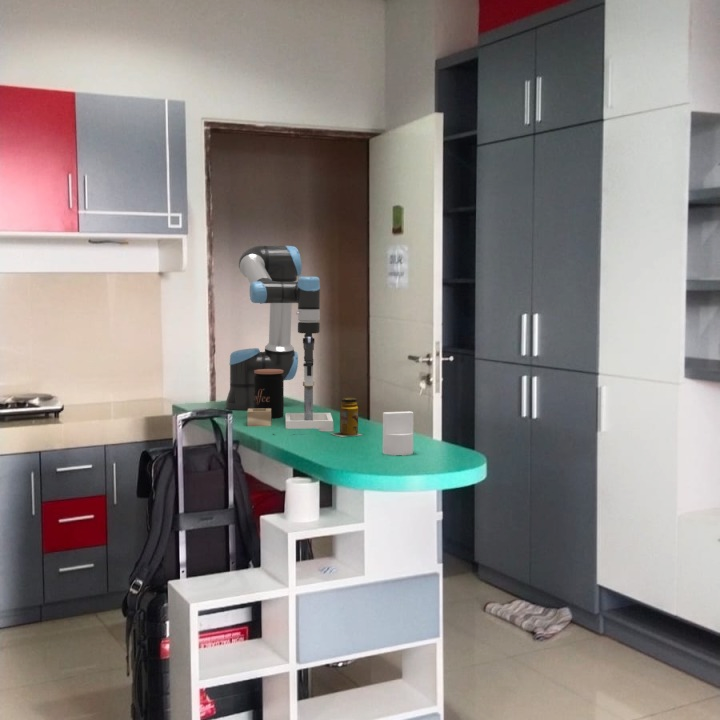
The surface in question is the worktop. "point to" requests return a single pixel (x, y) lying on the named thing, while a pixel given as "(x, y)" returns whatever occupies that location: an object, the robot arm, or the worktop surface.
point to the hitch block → (259, 417)
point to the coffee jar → (269, 391)
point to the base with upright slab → (398, 433)
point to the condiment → (348, 418)
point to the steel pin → (308, 401)
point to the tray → (309, 421)
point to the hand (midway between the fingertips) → (308, 382)
